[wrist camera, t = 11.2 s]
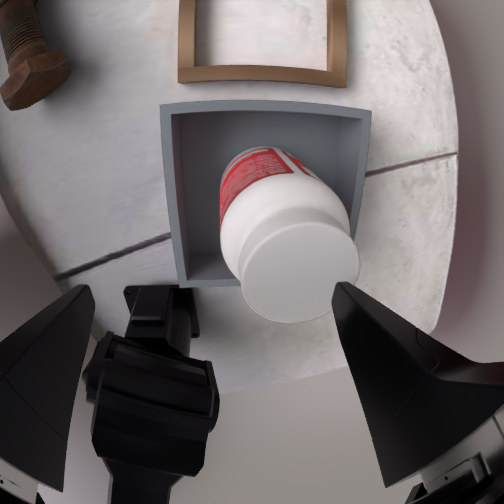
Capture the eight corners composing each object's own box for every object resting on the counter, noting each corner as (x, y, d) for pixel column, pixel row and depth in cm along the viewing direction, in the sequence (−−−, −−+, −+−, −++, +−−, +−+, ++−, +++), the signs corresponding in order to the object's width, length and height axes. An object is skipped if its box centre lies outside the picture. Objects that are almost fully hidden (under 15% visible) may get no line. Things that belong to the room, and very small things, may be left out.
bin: (329, 251, 24) (345, 278, 20) (185, 257, 23) (179, 287, 19) (345, 106, 18) (371, 110, 14) (172, 103, 16) (159, 104, 13)
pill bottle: (213, 218, 21) (208, 330, 11) (229, 136, 18) (237, 185, 8) (293, 231, 22) (342, 338, 12) (315, 155, 19) (402, 222, 9)
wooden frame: (339, 87, 17) (345, 87, 16) (180, 83, 16) (177, 82, 15) (337, -34, 11) (343, -39, 10) (185, -44, 10) (183, -50, 9)
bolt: (36, -22, 8) (71, 83, 15) (-11, 5, 6) (18, 117, 14) (34, -57, 3) (67, 55, 11) (-22, -26, 2) (-2, 99, 9)
